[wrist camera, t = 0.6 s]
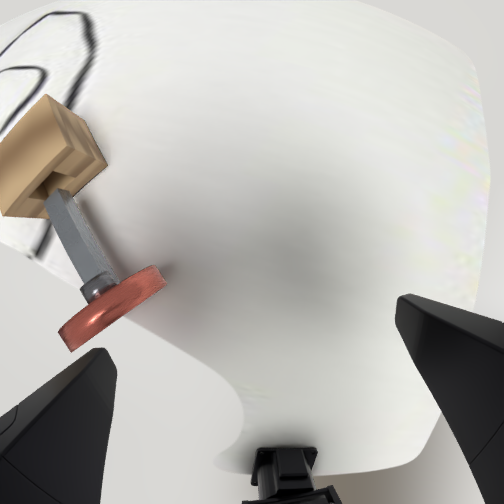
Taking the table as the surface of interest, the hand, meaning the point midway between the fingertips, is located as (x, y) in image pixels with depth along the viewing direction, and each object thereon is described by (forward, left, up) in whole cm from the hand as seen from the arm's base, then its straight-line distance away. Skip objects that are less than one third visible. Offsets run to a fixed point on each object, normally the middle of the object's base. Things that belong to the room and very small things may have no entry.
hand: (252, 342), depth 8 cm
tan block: (+8, +18, -16) cm, 25 cm away
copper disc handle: (0, +12, -15) cm, 19 cm away
